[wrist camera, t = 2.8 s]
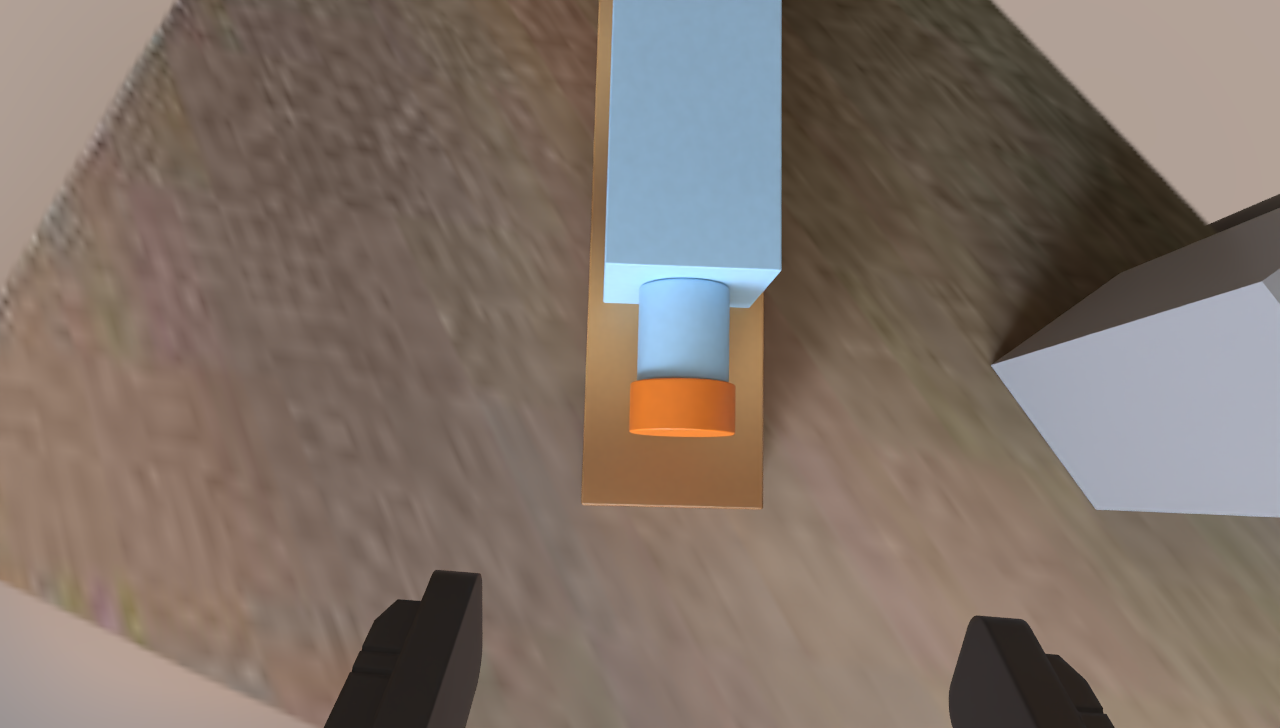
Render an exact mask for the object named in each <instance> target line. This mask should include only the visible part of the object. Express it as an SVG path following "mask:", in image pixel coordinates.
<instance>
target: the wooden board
mask: <svg viewBox="0 0 1280 728" xmlns="http://www.w3.org/2000/svg"><path fill="white" fill-rule="evenodd" d="M612 14H613V0H599V13H598V42H597V70H596V98H595V127H594V155H593V184H592V212H591V241H590V269H589V297H588V326H587V354H586V383H585V411H584V439H583V468H582V496H581V503H582V505H601V506H641V507H682V508H723V509H762V508H763V374H764V291H763V292H762V294H761V295H760V296H759V297H758V298H757V299H756V301H755V302H754V303H753V304H752V305H751V306H750V308H736V307H730V324H729V383H732V384H734V385H735V387H736V388H735V434H734V435H731V436H722V437H669V436H651V435H640V434H634V433H631V432H630V431H629V413H630V384H631V383H632V382H634V381H637V360H638V321H639V304H626V303H604V302H603V290H604V259H605V229H606V198H607V167H608V137H609V106H610V75H611V44H612Z"/></svg>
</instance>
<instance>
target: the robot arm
mask: <svg viewBox="0 0 1280 728" xmlns="http://www.w3.org/2000/svg"><path fill="white" fill-rule="evenodd" d="M481 658H482V577H481V574H480V573H468V572H456V571H444V570H435V571H434V572H433V574H432V576H431V578H430V581H429V583H428V586H427V588H426V591H425V593H424V596H423V598H422V600H421V601H412V600H399V599H398V600H397V601H396V602H394V603H393V604H392V605H391V606H390V607H389V608H388V609H387V610H386V611H384V612H383V613H382V614H381V615H380V616H379V617H378V618H377V619H376V620H374V623H373V625H372V627H371V629H370V631H369V633H368V635H367V637H366V639H365V642H364V644H363V646H362V651H360V652H359V654H358V656H357V659H356V661H355V663H354V665H353V668H352V672H350V673H349V676H348V678H347V680H346V682H345V684H344V686H343V688H342V690H341V692H340V695H339V697H338V699H337V701H336V703H335V705H334V707H333V709H332V712H331V714H330V716H329V718H328V720H327V722H326V724H325V726H324V728H465V726H466V723H467V719H468V716H469V712H470V709H471V705H472V701H473V698H474V694H475V691H476V687H477V683H478V678H479V673H480V666H481ZM949 712H950V719H951V723H952V726H953V728H1114V726H1113V724H1112V723H1111V721H1110V719H1109V718H1108V716H1107V714H1103V708H1102V706H1101V704H1100V703H1099V701H1098V699H1097V698H1096V696H1095V694H1094V693H1093V691H1092V689H1091V688H1090V686H1089V684H1088V683H1087V681H1086V680H1085V679H1084V678H1083V677H1082V676H1081V675H1080V674H1079V673H1077V672H1076V671H1075V670H1074V669H1073V668H1072V667H1071V666H1070V665H1069V664H1068V663H1067V662H1065V661H1064V660H1063V659H1062V658H1061V657H1060V656H1059V655H1052V654H1045V653H1044V651H1043V649H1042V647H1041V645H1040V644H1039V642H1038V640H1037V638H1036V637H1035V635H1034V633H1033V631H1032V630H1031V628H1030V626H1029V625H1028V623H1027V622H1026V621H1024V620H1022V619H1012V618H1000V617H988V616H974V617H973V618H972V619H971V621H970V622H969V625H968V628H967V631H966V635H965V638H964V641H963V645H962V648H961V651H960V655H959V658H958V661H957V665H956V668H955V671H954V675H953V678H952V681H951V685H950V690H949Z"/></svg>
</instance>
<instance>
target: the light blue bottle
mask: <svg viewBox="0 0 1280 728" xmlns="http://www.w3.org/2000/svg"><path fill="white" fill-rule="evenodd" d="M781 270H782V0H613V14H612V44H611V75H610V106H609V137H608V167H607V198H606V229H605V259H604V290H603V302H604V303H626V304H639V321H638V360H637V381H634V382H632V383H631V384H630V413H629V431H630V432H631V433H634V434H640V435H651V436H669V437H722V436H731V435H734V434H735V388H736V387H735V385H734V384H732V383H729V324H730V307H736V308H750V306H751V305H752V304H753V303H754V302H755V301H756V299H757V298H758V297H759V296H760V295H761V294H762V292H763V291H764V290H765V289H766V288H767V287H768V285H769V284H770V283H771V282H772V281H773V280H774V278H775V277H776V276H777V275H778V274H779V273H780V271H781Z"/></svg>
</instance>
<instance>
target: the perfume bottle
mask: <svg viewBox="0 0 1280 728" xmlns="http://www.w3.org/2000/svg"><path fill="white" fill-rule="evenodd" d="M991 366H992V368H993V369H994V370H995V372H996V373H997V374H998V376H999V377H1000V379H1001V380H1002V381H1003V383H1004V384H1005V385H1006V387H1007V388H1008V390H1009V391H1010V392H1011V394H1012V395H1013V396H1014V398H1015V399H1016V401H1017V402H1018V403H1019V405H1020V406H1021V407H1022V409H1023V410H1024V412H1025V413H1026V414H1027V416H1028V417H1029V418H1030V420H1031V421H1032V422H1033V424H1034V425H1035V427H1036V428H1037V429H1038V431H1039V432H1040V433H1041V435H1042V436H1043V438H1044V439H1045V440H1046V442H1047V443H1048V444H1049V446H1050V447H1051V449H1052V450H1053V451H1054V453H1055V454H1056V455H1057V457H1058V458H1059V459H1060V461H1061V462H1062V464H1063V465H1064V466H1065V468H1066V469H1067V470H1068V472H1069V473H1070V475H1071V476H1072V477H1073V479H1074V480H1075V481H1076V483H1077V484H1078V486H1079V487H1080V488H1081V490H1082V491H1083V492H1084V494H1085V495H1086V497H1087V498H1088V499H1089V501H1090V502H1091V503H1092V505H1093V506H1094V507H1095V509H1099V510H1122V511H1145V512H1169V513H1192V514H1215V515H1238V516H1262V517H1280V208H1278V209H1276V210H1273V211H1271V212H1268V213H1266V214H1264V215H1261V216H1259V217H1256V218H1254V219H1251V220H1249V221H1246V222H1244V223H1241V224H1239V225H1237V226H1234V227H1232V228H1229V229H1227V230H1224V231H1222V232H1219V233H1217V234H1215V235H1212V236H1210V237H1207V238H1205V239H1202V240H1200V241H1197V242H1195V243H1192V244H1190V245H1188V246H1185V247H1183V248H1180V249H1178V250H1175V251H1173V252H1170V253H1168V254H1166V255H1163V256H1161V257H1158V258H1156V259H1153V260H1151V261H1148V262H1146V263H1144V264H1141V265H1139V266H1136V267H1134V268H1131V269H1129V270H1126V271H1124V272H1121V273H1120V274H1118V275H1117V276H1115V277H1114V278H1113V279H1111V280H1110V281H1108V282H1107V283H1105V284H1104V285H1103V286H1101V287H1100V288H1098V289H1097V290H1096V291H1094V292H1093V293H1091V294H1090V295H1089V296H1087V297H1086V298H1084V299H1083V300H1082V301H1080V302H1079V303H1077V304H1076V305H1075V306H1073V307H1072V308H1070V309H1069V310H1068V311H1066V312H1065V313H1063V314H1062V315H1061V316H1059V317H1058V318H1056V319H1055V320H1054V321H1052V322H1051V323H1049V324H1048V325H1047V326H1045V327H1044V328H1042V329H1041V330H1039V331H1038V332H1037V333H1035V334H1034V335H1032V336H1031V337H1030V338H1028V339H1027V340H1025V341H1024V342H1023V343H1021V344H1020V345H1018V346H1017V347H1016V348H1014V349H1013V350H1011V351H1010V352H1009V353H1007V354H1006V355H1004V356H1003V357H1002V358H1000V359H999V360H997V361H996V362H995V363H993V364H992V365H991Z"/></svg>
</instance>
